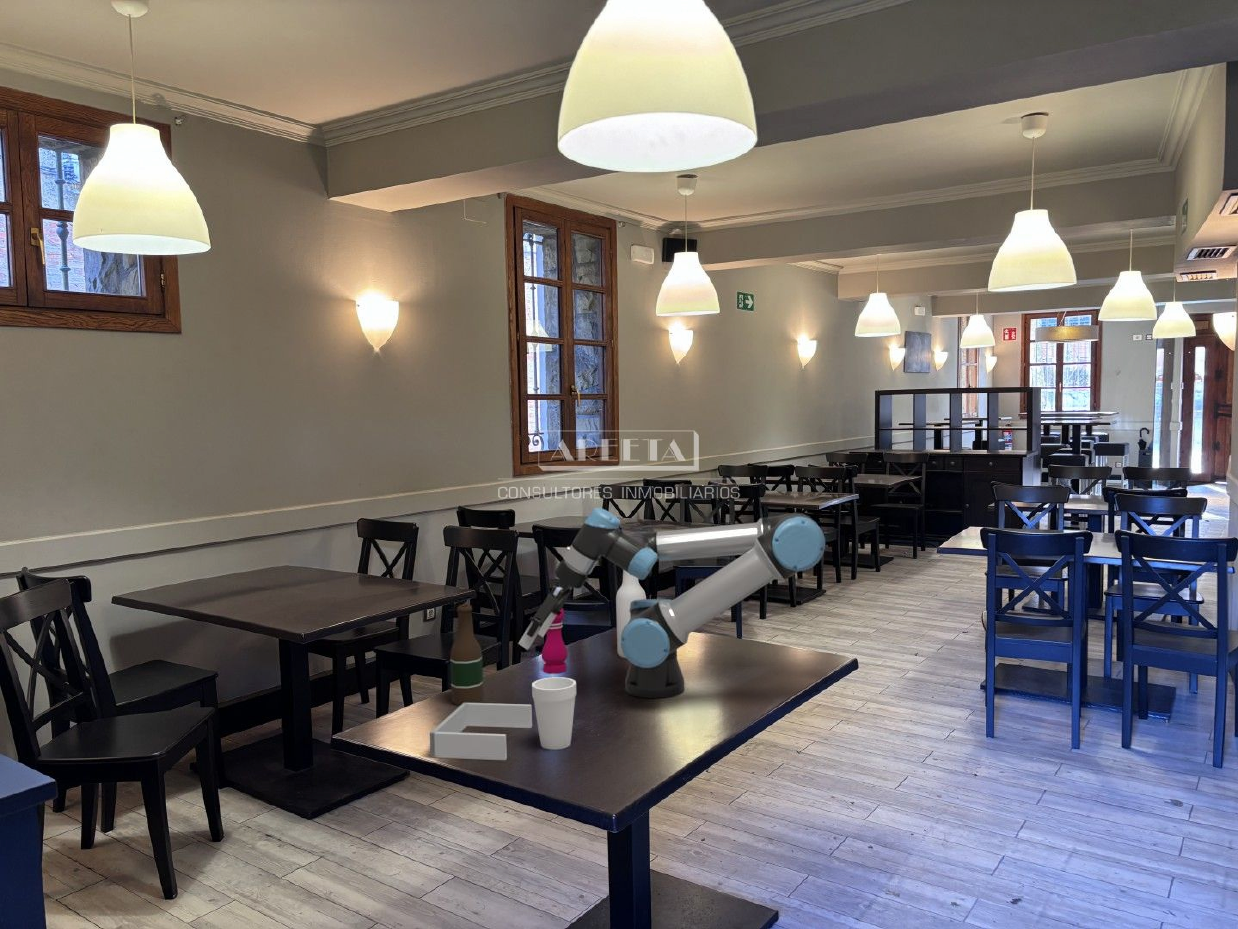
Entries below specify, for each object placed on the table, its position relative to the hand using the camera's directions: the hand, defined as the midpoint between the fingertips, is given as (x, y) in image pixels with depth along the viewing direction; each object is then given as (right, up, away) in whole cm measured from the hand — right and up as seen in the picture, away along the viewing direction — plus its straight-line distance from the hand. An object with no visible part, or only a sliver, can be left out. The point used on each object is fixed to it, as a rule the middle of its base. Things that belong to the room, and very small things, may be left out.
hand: (531, 640), depth 209 cm
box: (-8, -17, -24) cm, 31 cm away
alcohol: (+25, -14, +44) cm, 53 cm away
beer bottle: (-16, -16, +4) cm, 23 cm away
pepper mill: (+4, -15, +30) cm, 33 cm away
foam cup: (+8, -17, -27) cm, 33 cm away
